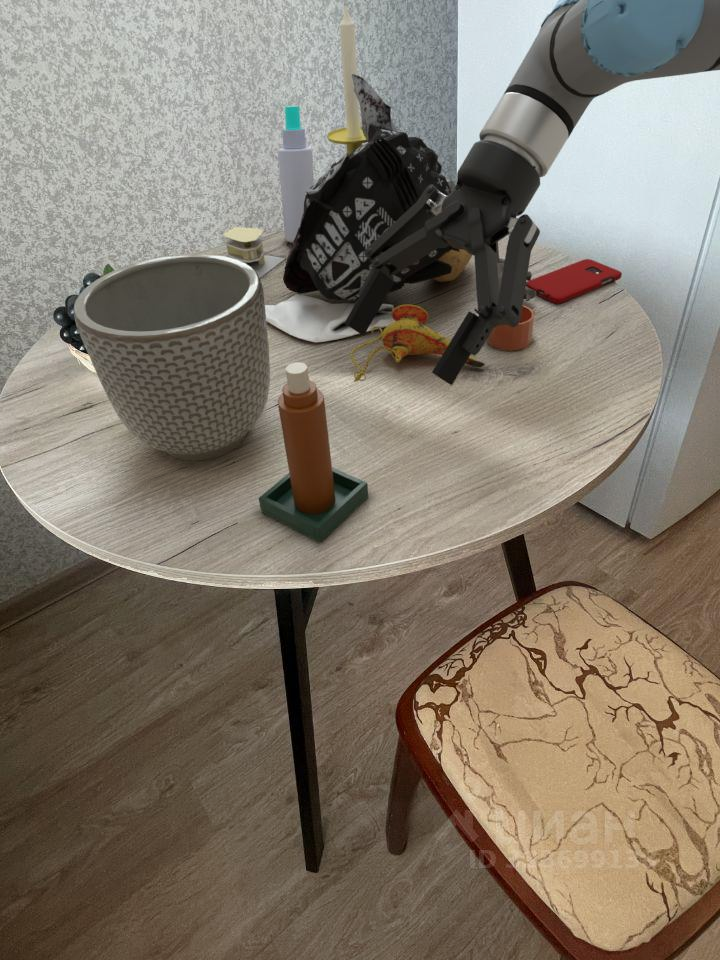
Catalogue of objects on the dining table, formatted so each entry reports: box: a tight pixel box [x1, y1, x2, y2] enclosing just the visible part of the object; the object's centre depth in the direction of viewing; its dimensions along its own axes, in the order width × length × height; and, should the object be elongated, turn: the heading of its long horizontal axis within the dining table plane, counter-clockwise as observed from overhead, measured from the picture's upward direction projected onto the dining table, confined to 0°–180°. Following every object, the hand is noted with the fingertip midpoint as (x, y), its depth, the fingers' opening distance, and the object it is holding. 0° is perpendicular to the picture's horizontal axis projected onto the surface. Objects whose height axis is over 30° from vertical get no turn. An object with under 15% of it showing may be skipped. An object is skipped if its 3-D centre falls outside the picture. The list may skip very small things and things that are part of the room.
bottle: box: [277, 361, 335, 514], centre depth 69 cm, size 4×4×16 cm
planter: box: [73, 253, 271, 462], centre depth 79 cm, size 20×20×19 cm
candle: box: [326, 2, 368, 155], centre depth 110 cm, size 10×10×38 cm
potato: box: [431, 249, 473, 283], centre depth 112 cm, size 9×16×9 cm, turn 158°
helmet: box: [282, 74, 460, 302], centre depth 103 cm, size 26×26×30 cm
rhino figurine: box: [497, 257, 537, 302], centre depth 108 cm, size 4×14×6 cm
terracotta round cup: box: [486, 304, 535, 352], centre depth 97 cm, size 6×6×4 cm
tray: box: [258, 466, 369, 544], centre depth 74 cm, size 8×8×2 cm
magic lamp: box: [350, 304, 486, 383], centre depth 93 cm, size 7×18×11 cm
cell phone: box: [526, 258, 623, 305], centre depth 110 cm, size 8×15×1 cm, turn 124°
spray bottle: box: [277, 105, 315, 244], centre depth 124 cm, size 6×6×22 cm
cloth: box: [265, 293, 395, 343], centre depth 105 cm, size 26×14×2 cm, turn 66°
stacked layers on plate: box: [222, 226, 286, 279], centre depth 122 cm, size 10×9×6 cm
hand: (395, 353), depth 70 cm, fingers open, 13 cm apart
